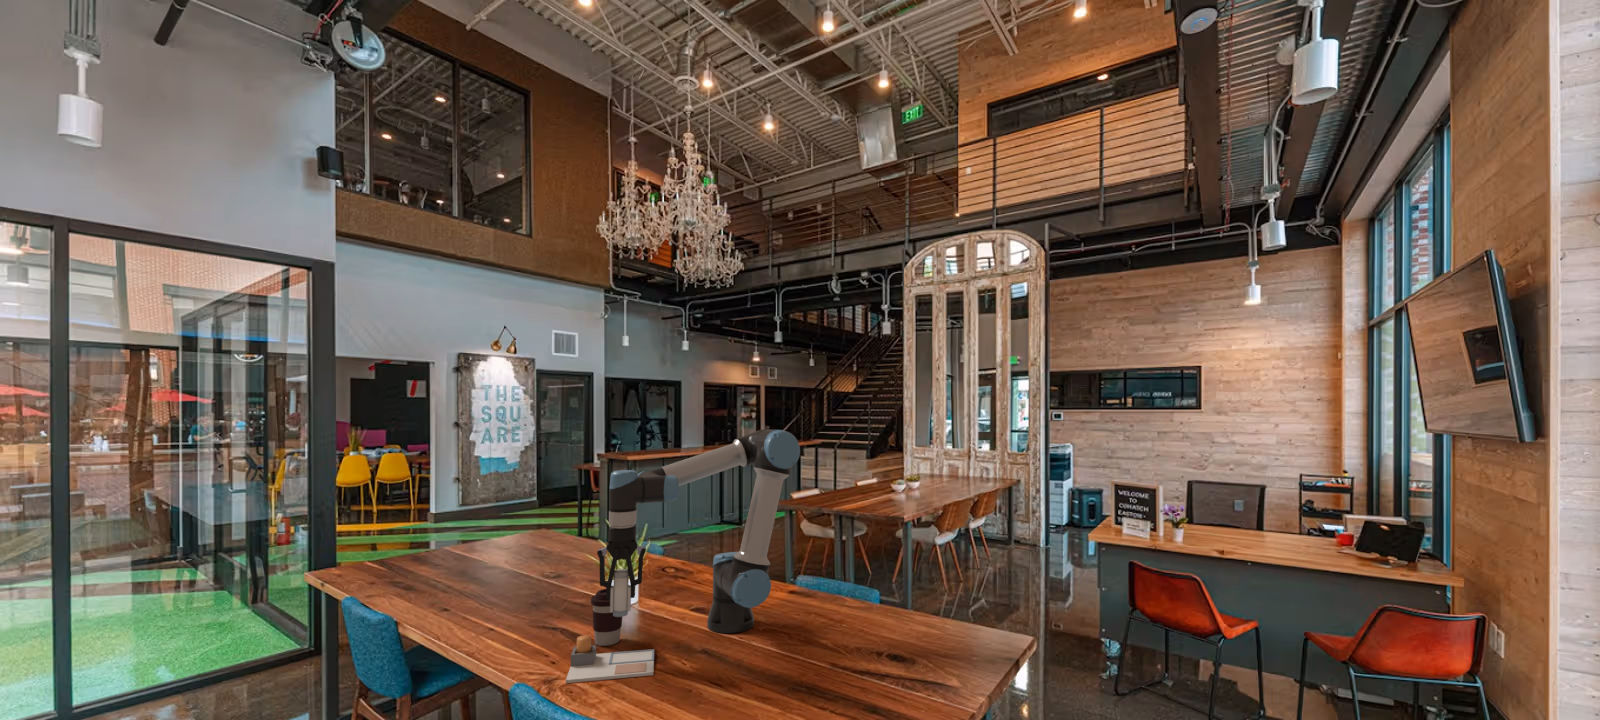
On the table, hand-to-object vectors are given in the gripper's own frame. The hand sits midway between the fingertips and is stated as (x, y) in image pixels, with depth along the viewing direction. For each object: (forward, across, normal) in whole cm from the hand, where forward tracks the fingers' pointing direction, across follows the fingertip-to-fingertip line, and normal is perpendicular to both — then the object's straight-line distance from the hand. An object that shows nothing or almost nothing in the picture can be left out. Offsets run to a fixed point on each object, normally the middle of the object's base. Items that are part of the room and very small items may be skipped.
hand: (620, 610), depth 174 cm
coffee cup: (+14, +5, -16) cm, 22 cm away
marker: (+1, 0, 0) cm, 1 cm away
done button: (+12, +10, 0) cm, 15 cm away
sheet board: (+14, +2, +3) cm, 14 cm away
